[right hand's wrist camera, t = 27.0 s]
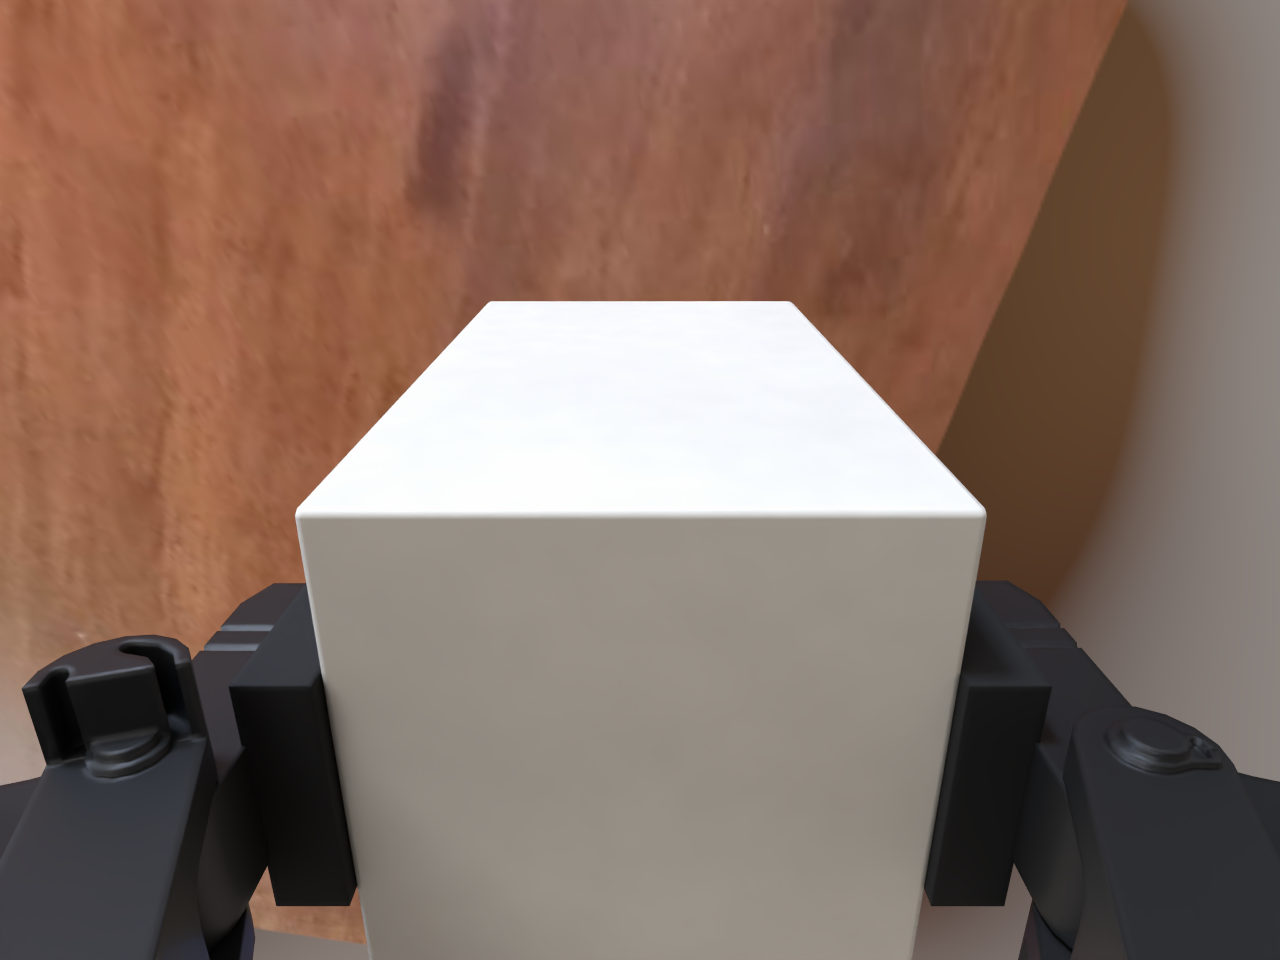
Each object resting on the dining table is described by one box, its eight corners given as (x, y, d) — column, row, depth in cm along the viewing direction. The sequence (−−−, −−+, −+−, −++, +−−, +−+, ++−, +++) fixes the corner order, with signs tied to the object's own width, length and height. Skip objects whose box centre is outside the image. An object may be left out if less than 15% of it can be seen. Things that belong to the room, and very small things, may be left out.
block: (487, 300, 17) (289, 510, 7) (792, 300, 17) (992, 510, 7) (506, 580, 19) (375, 1013, 10) (773, 580, 19) (905, 1013, 10)
